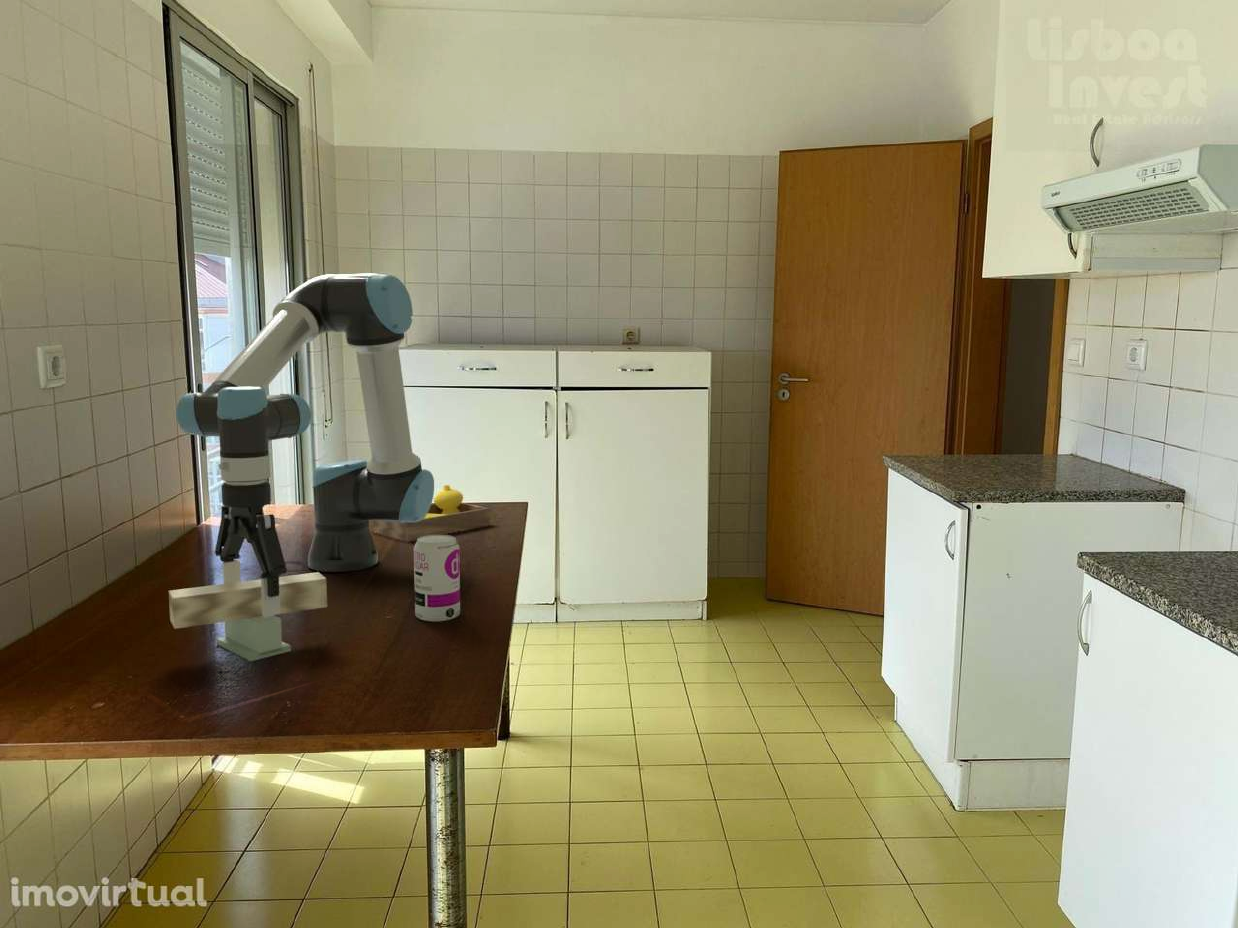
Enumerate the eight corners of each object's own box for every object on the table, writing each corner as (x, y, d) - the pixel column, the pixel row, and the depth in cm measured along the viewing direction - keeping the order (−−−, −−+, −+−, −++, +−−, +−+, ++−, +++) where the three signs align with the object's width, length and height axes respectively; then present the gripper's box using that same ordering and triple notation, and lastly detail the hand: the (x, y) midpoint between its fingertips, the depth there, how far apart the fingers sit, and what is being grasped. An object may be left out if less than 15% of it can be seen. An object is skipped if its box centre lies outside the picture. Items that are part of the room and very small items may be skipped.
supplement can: (467, 613, 182) (466, 535, 180) (446, 625, 175) (444, 545, 172) (430, 609, 185) (428, 532, 183) (407, 621, 177) (405, 541, 175)
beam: (174, 628, 152) (172, 598, 152) (170, 620, 157) (168, 590, 156) (327, 606, 165) (326, 578, 164) (319, 599, 169) (318, 572, 169)
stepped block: (217, 644, 163) (215, 610, 163) (256, 634, 168) (254, 601, 168) (250, 661, 155) (248, 625, 154) (290, 650, 160) (289, 616, 160)
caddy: (371, 536, 248) (370, 513, 247) (452, 521, 267) (452, 500, 266) (407, 546, 237) (406, 522, 236) (489, 530, 256) (489, 508, 255)
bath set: (423, 542, 245) (416, 501, 243) (395, 540, 251) (388, 500, 249) (476, 521, 261) (470, 482, 259) (449, 519, 267) (443, 482, 265)
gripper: (190, 475, 164) (196, 596, 167) (260, 493, 147) (266, 627, 150) (233, 470, 169) (238, 588, 172) (305, 487, 152) (310, 617, 155)
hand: (251, 606), depth 161 cm, fingers open, 13 cm apart
